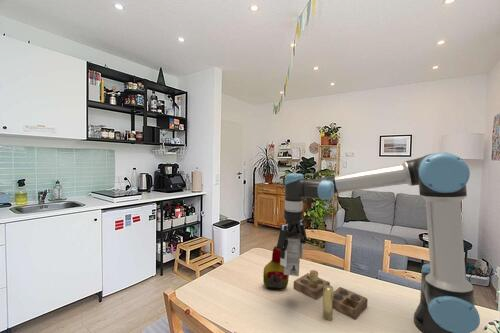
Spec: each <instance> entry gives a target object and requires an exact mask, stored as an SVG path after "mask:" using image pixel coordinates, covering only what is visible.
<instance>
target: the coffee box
mask: <svg viewBox="0 0 500 333" xmlns="http://www.w3.org/2000/svg"><path fill="white" fill-rule="evenodd" d="M287 232H288V231H287ZM289 233H290V232H289ZM287 239H288V245H287V248H286V250H287V266H286V267H285V266H284V275H289V276H292V277H299V276H300V260H301V258H300V233H298V232H294V233H293V235H292V236H289V237H288V236H286V238H285V240H287Z"/></svg>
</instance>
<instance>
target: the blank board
mask: <svg viewBox="0 0 500 333" xmlns="http://www.w3.org/2000/svg"><path fill="white" fill-rule="evenodd" d="M367 307H368V298H367V297H365V296H363V295H360V294H359V293H357V292H353V291H351V290H349V289H347V288H345V287H342V286H339V287H337V289H335V290H333V310H335V311H337V312H339V313H342V314H343V315H345V316H347V317H349V318H351V319H354V320H356V319H357V318H358V317H359V316H360V315H361V314H362V313H363V311H365V309H366V308H367Z"/></svg>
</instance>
